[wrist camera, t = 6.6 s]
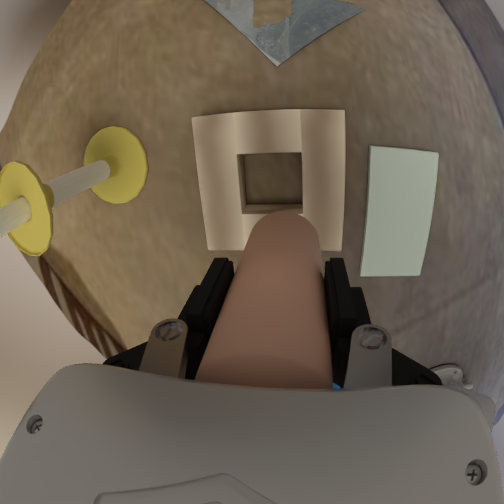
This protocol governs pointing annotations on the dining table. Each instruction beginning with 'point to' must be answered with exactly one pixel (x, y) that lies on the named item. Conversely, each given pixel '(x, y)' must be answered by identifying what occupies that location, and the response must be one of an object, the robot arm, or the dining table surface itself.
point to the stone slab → (286, 24)
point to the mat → (398, 210)
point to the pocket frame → (270, 141)
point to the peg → (274, 312)
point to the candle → (69, 187)
